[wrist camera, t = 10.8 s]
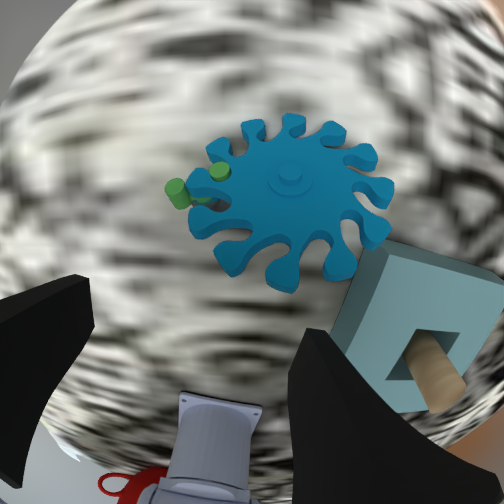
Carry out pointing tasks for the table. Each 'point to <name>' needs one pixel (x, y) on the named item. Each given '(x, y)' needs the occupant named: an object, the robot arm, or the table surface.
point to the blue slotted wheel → (285, 198)
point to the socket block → (413, 315)
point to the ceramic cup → (134, 484)
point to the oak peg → (433, 371)
